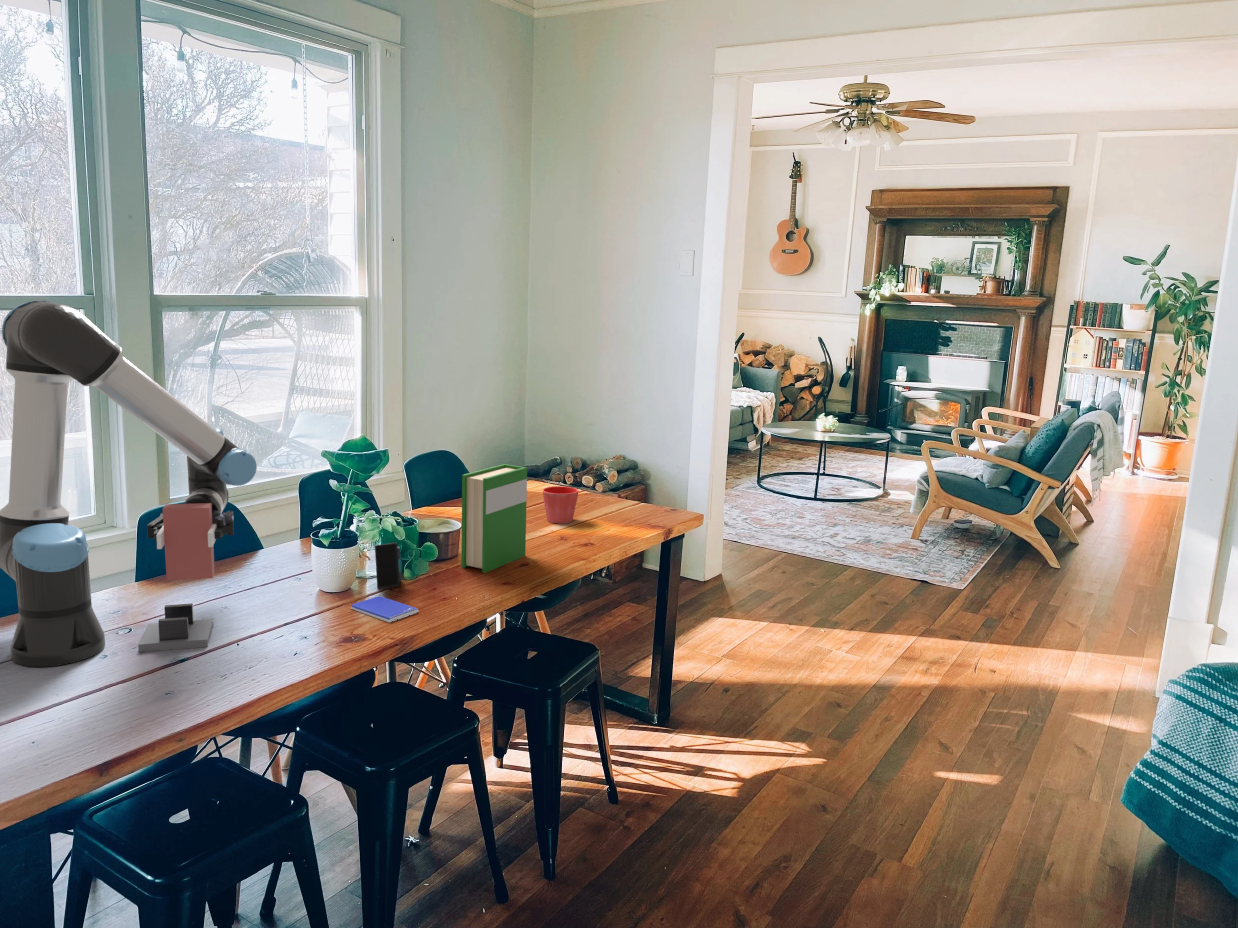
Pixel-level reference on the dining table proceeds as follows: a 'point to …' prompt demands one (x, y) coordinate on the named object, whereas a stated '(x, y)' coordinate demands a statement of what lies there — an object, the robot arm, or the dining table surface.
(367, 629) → the dining table surface
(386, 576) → the speaker
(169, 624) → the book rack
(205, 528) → the red rectangular block
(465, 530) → the hardback book
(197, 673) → the dining table surface
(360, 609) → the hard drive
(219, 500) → the robot arm
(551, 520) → the flower pot
